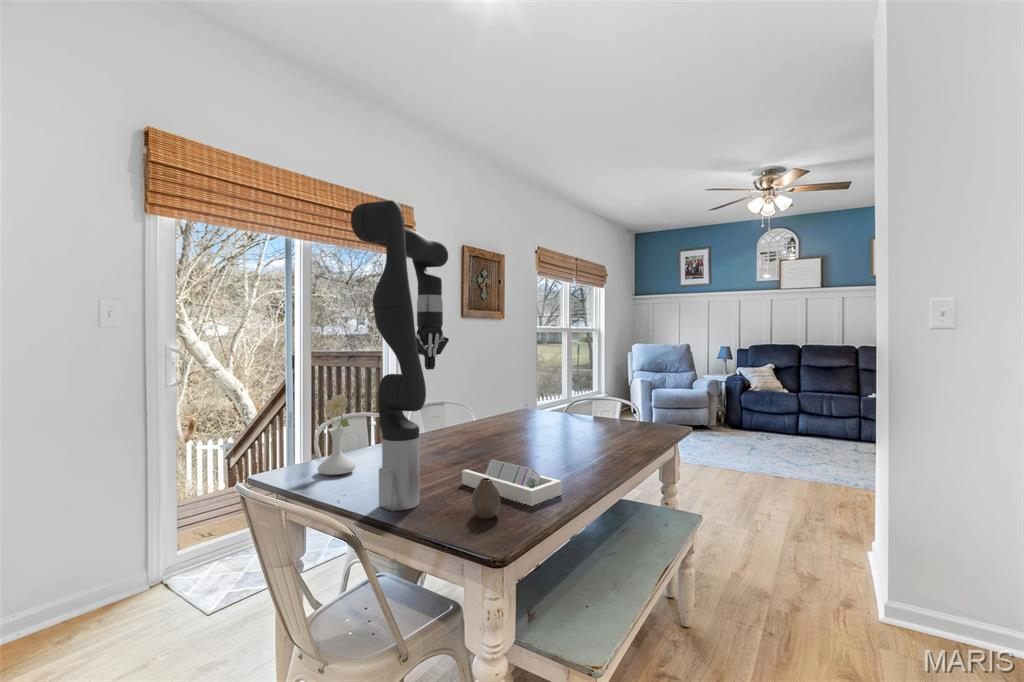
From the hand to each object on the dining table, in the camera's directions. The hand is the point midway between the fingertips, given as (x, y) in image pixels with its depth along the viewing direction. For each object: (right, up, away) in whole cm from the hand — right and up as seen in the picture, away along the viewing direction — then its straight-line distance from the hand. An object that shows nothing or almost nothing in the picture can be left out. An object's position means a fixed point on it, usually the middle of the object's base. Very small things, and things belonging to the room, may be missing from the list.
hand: (429, 369), depth 146 cm
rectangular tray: (+24, -33, -9) cm, 42 cm away
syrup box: (+19, -29, -5) cm, 35 cm away
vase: (+18, -34, -28) cm, 47 cm away
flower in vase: (-30, -33, +7) cm, 45 cm away
